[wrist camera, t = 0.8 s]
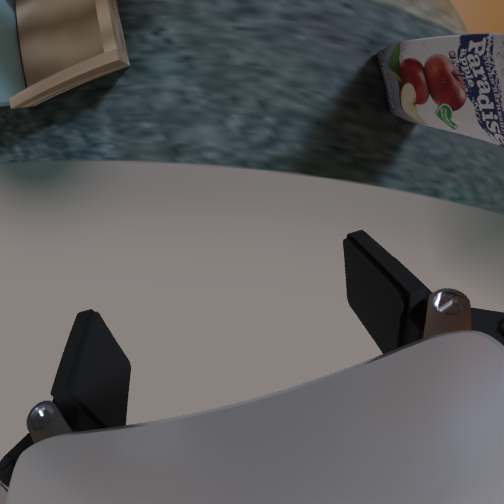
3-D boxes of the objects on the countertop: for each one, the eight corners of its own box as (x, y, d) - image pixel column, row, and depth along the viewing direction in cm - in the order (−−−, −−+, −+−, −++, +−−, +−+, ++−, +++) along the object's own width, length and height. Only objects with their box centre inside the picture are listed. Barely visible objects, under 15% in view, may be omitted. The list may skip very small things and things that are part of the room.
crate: (17, -13, 19) (-4, -25, 14) (108, -55, 20) (97, -75, 15) (35, 106, 28) (11, 108, 22) (130, 66, 29) (118, 59, 23)
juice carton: (417, 42, 32) (591, 46, 8) (432, 111, 37) (599, 161, 13) (366, 46, 32) (559, 34, 8) (385, 122, 37) (569, 182, 13)
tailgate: (6, -2, 19) (-22, -14, 13) (13, -7, 19) (-13, -20, 13) (21, 104, 27) (-10, 107, 21) (29, 100, 27) (-1, 102, 21)
